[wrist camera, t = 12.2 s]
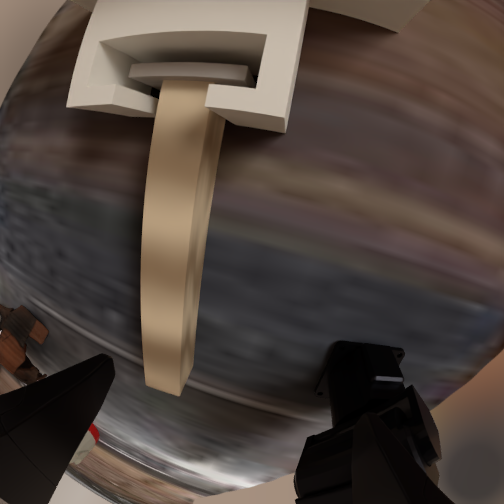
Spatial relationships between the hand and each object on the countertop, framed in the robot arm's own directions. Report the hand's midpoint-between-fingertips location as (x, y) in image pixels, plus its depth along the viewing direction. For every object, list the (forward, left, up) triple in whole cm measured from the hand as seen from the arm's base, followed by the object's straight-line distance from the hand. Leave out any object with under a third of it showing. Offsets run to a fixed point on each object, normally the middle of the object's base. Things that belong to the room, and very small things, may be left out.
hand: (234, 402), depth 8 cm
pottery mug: (-16, +28, -12) cm, 35 cm away
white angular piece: (+14, +6, -12) cm, 19 cm away
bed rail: (0, +6, -12) cm, 13 cm away
